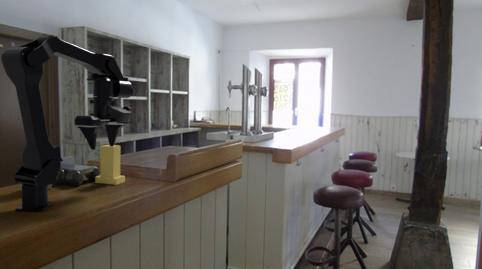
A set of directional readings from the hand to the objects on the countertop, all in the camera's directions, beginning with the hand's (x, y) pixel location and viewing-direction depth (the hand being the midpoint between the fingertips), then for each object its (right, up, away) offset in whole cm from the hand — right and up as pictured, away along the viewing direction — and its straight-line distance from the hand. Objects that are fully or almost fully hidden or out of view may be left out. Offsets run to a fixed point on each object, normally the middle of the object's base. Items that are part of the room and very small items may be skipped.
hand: (102, 147), depth 107 cm
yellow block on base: (-2, -12, +11) cm, 16 cm away
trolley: (-13, -12, +9) cm, 20 cm away
